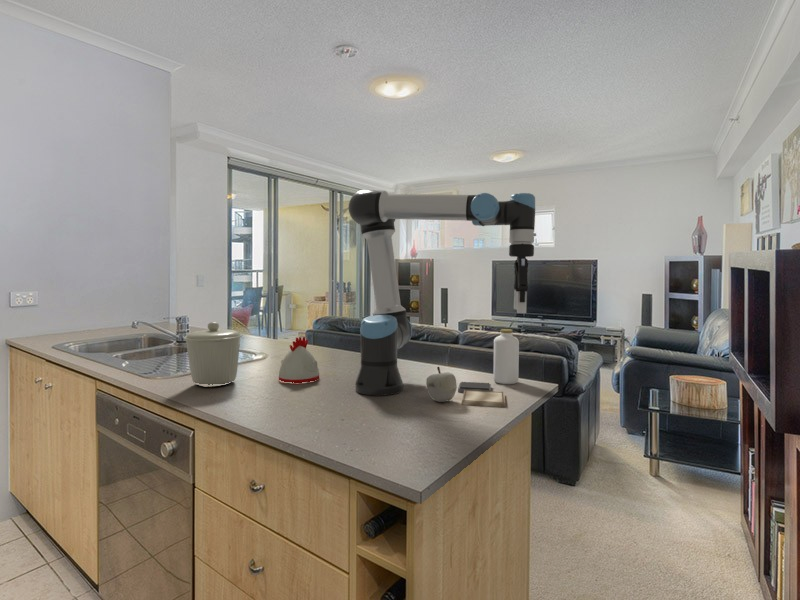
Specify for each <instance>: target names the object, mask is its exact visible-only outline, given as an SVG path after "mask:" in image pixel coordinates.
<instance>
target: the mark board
mask: <svg viewBox="0 0 800 600" xmlns="http://www.w3.org/2000/svg"><path fill="white" fill-rule="evenodd" d="M461 405H464V406H465V405H466V406H483V407H496V408H497V407H500V408H505V407H506V398H505V392H504V391H493V390H491V391H473V390H464V392H463V394H462V398H461Z"/></svg>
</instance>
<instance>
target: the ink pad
mask: <svg viewBox="0 0 800 600" xmlns="http://www.w3.org/2000/svg"><path fill="white" fill-rule="evenodd" d="M491 386H492V384H490V382H476V381H475V382H474V381H473V382H472V381H461V382H459V385H458V387H457V392H458V393H464V390H473V391H492V388H491Z"/></svg>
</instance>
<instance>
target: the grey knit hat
mask: <svg viewBox="0 0 800 600" xmlns="http://www.w3.org/2000/svg"><path fill="white" fill-rule="evenodd" d="M308 341H309V339H306V337H305V336H302V337H301V336H299V337H295V341H294V340H293V341H292V345H291V344H290V345H289V348H290V350H289V351H288V352H287V353H286V354H285V355H284V358H283V359H282V360H281V361H280V362H281V363H280V364H281V365H280V368H279V371H278V381H279V380H281V381H284V382H292V383H293V382H294V383H302V382H310V381H315V380H317V379H319V380H320V371H319V367H318V361H317V360H316V359H315V358H316V357H315V356H314V355H313V354H312V353H311V351H310V350H309V349H307V346H308ZM315 382H316V381H315Z"/></svg>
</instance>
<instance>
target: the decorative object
mask: <svg viewBox="0 0 800 600" xmlns="http://www.w3.org/2000/svg"><path fill="white" fill-rule="evenodd" d="M437 372H438V373H434V374H430V375H429V376H428V377H427V378H426V381H425V382H426V389H427V392H428V395H429V396H430V398H431V399H433V400H434V401H436V402H438V403H443V402H444V403H445V402H448V401H451V400H452V399H453V398H454V397H455V395H456V392H457V389H458V387H457V377H456V376H455V375H454V374H453V373H452V372H449V371H446V372H441V368H440V366H437Z"/></svg>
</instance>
